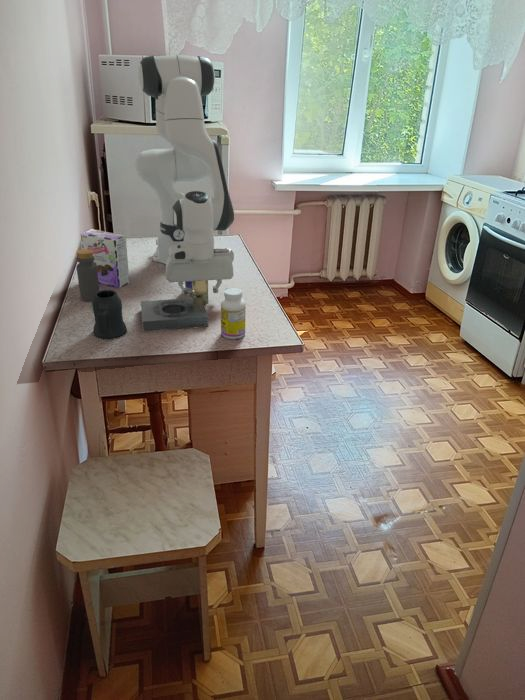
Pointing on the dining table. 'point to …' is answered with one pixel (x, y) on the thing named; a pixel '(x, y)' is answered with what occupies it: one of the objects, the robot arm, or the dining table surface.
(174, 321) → the jig
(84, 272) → the bottle
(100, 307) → the dark grey flared cylinder
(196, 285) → the gold rounded cylinder
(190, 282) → the pill bottle
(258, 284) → the dining table surface
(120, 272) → the candy box
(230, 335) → the supplement bottle
